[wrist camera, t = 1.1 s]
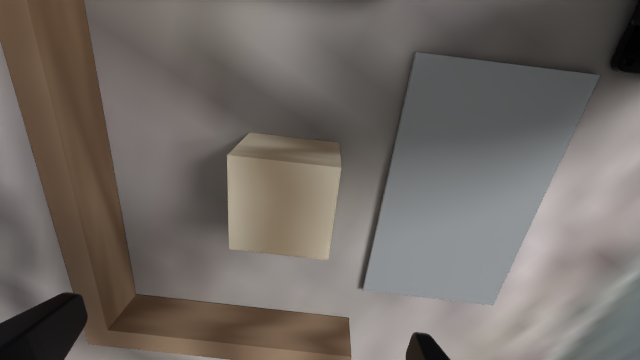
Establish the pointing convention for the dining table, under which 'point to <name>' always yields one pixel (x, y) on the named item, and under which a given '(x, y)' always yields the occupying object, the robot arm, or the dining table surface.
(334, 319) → the walnut u-shaped frame
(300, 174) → the birch block
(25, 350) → the robot arm
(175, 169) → the dining table surface
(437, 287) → the grey mat
